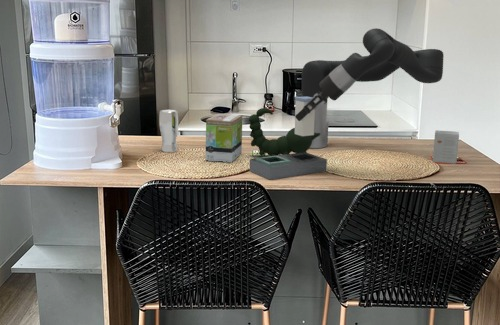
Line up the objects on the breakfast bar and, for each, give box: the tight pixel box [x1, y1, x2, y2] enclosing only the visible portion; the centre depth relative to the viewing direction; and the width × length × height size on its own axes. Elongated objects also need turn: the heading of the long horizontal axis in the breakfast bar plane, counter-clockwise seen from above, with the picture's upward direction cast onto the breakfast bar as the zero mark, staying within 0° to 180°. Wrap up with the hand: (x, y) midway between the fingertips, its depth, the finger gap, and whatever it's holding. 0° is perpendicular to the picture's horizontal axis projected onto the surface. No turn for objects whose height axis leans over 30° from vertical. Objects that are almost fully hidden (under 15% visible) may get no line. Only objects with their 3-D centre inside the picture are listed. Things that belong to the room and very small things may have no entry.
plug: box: [294, 96, 315, 136], centre depth 177 cm, size 5×5×12 cm
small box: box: [432, 130, 460, 165], centre depth 194 cm, size 8×6×10 cm
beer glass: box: [158, 109, 179, 153], centre depth 204 cm, size 7×7×15 cm
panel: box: [249, 151, 328, 181], centre depth 178 cm, size 22×12×5 cm, turn 121°
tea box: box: [204, 113, 243, 163], centre depth 195 cm, size 15×10×15 cm, turn 168°
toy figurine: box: [248, 107, 320, 156], centre depth 196 cm, size 9×19×25 cm
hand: (299, 117), depth 178 cm, fingers closed on plug, 6 cm apart
